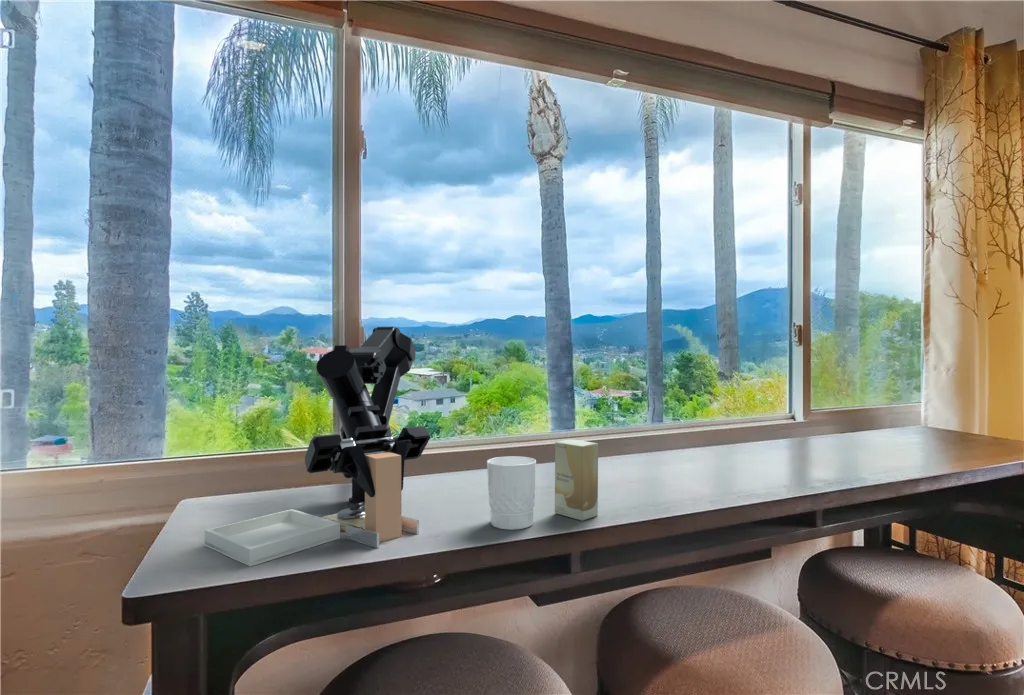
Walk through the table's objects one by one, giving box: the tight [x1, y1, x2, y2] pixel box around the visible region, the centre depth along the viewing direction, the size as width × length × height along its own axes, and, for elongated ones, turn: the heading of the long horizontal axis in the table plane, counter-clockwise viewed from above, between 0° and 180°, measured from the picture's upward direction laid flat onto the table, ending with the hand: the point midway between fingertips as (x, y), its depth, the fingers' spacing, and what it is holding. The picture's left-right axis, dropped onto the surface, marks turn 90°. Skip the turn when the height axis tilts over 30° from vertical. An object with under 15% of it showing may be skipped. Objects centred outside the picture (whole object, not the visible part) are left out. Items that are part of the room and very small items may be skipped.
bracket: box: [322, 501, 420, 549], centre depth 81 cm, size 9×16×3 cm, turn 53°
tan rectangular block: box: [364, 452, 403, 543], centre depth 78 cm, size 4×4×12 cm
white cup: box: [486, 455, 537, 531], centre depth 83 cm, size 8×8×10 cm
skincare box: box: [554, 438, 599, 522], centre depth 88 cm, size 6×4×12 cm
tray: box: [204, 508, 341, 567], centre depth 76 cm, size 13×13×2 cm
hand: (387, 493), depth 77 cm, fingers open, 4 cm apart
